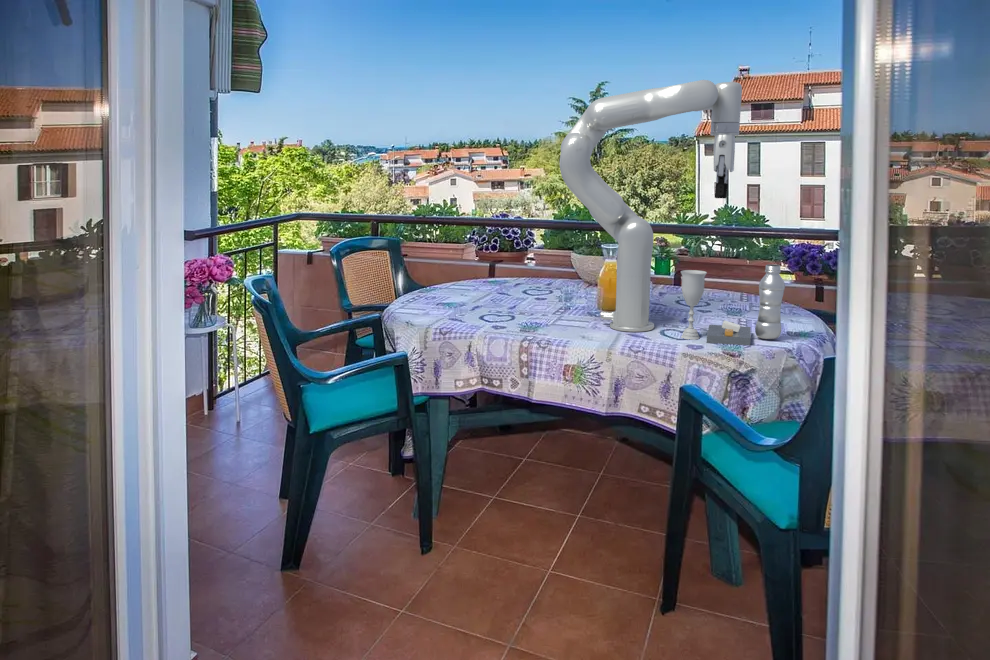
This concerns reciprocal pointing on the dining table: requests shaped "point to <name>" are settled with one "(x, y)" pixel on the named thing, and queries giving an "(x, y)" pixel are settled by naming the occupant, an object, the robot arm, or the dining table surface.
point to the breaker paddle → (730, 326)
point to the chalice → (692, 297)
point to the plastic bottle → (770, 303)
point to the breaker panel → (728, 335)
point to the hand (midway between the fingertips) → (720, 198)
